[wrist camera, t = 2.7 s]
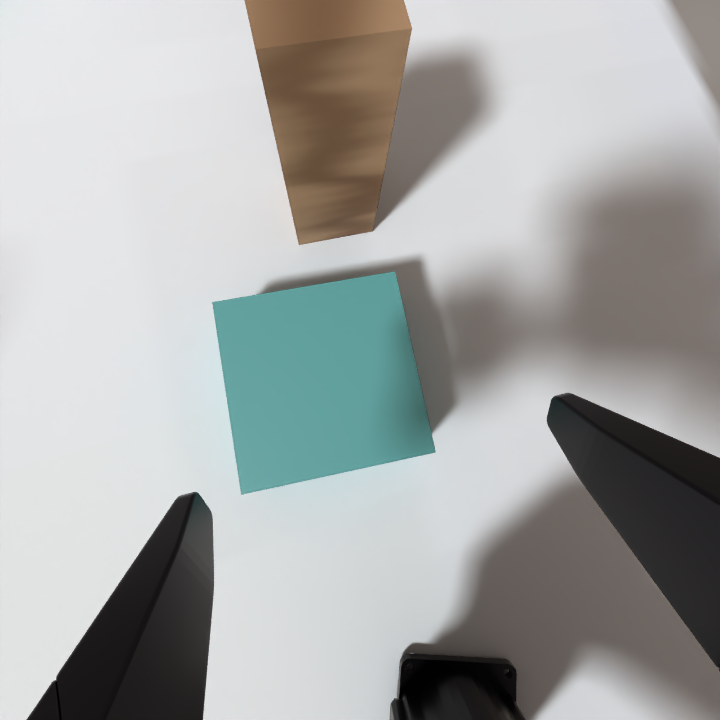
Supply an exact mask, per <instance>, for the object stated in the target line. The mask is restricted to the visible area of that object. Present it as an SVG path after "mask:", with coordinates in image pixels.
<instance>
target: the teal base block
mask: <svg viewBox="0 0 720 720" xmlns="http://www.w3.org/2000/svg"><path fill="white" fill-rule="evenodd" d="M212 303H213V309H214V316H215V323H216V329H217V336H218V343H219V349H220V356H221V363H222V369H223V376H224V383H225V389H226V396H227V403H228V409H229V416H230V423H231V429H232V436H233V443H234V449H235V456H236V463H237V469H238V476H239V483H240V489H241V495H242V494H247V493H251V492H256V491H260V490H265V489H270V488H274V487H279V486H283V485H288V484H292V483H297V482H302V481H306V480H311V479H315V478H320V477H325V476H329V475H334V474H338V473H343V472H348V471H352V470H357V469H361V468H366V467H371V466H375V465H380V464H384V463H389V462H394V461H398V460H403V459H407V458H412V457H417V456H421V455H426V454H430V453H435V452H436V451H435V447H434V442H433V438H432V433H431V429H430V425H429V420H428V416H427V411H426V407H425V402H424V398H423V393H422V389H421V384H420V380H419V375H418V371H417V366H416V362H415V358H414V353H413V349H412V344H411V340H410V335H409V331H408V326H407V322H406V317H405V313H404V308H403V304H402V299H401V295H400V291H399V286H398V282H397V277H396V273H395V271H394V272H388V273H382V274H376V275H370V276H365V277H359V278H353V279H347V280H341V281H335V282H329V283H323V284H317V285H311V286H305V287H299V288H294V289H288V290H282V291H276V292H270V293H264V294H258V295H252V296H246V297H240V298H234V299H228V300H223V301H217V302H212Z"/></svg>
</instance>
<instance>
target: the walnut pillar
mask: <svg viewBox="0 0 720 720" xmlns="http://www.w3.org/2000/svg"><path fill="white" fill-rule="evenodd" d="M245 4H246V9H247V13H248V18H249V22H250V27H251V31H252V36H253V41H254V45H255V50H256V54H257V59H258V63H259V68H260V72H261V77H262V81H263V86H264V90H265V95H266V99H267V104H268V108H269V113H270V117H271V122H272V126H273V131H274V135H275V140H276V144H277V149H278V153H279V157H280V162H281V166H282V171H283V175H284V180H285V184H286V189H287V193H288V198H289V202H290V207H291V211H292V216H293V220H294V225H295V229H296V234H297V238H298V243H299V245H301V244H307V243H312V242H318V241H323V240H328V239H334V238H339V237H344V236H350V235H355V234H361V233H366V232H371V231H373V228H374V222H375V217H376V212H377V207H378V202H379V196H380V191H381V186H382V181H383V176H384V170H385V165H386V160H387V155H388V150H389V145H390V139H391V134H392V129H393V124H394V119H395V113H396V108H397V103H398V98H399V93H400V87H401V82H402V77H403V72H404V67H405V61H406V56H407V51H408V46H409V41H410V35H411V30H412V27H411V24H410V20H409V17H408V13H407V10H406V6H405V3H404V0H245Z"/></svg>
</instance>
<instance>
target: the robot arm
mask: <svg viewBox="0 0 720 720" xmlns="http://www.w3.org/2000/svg"><path fill="white" fill-rule="evenodd" d="M547 423H548V426H549V428H550V430H551V432H552V434H553V435H554V437H555V439H556V440H557V442H558V444H559V445H560V447H561V449H562V451H563V452H564V454H565V456H566V457H567V459H568V461H569V463H570V464H571V466H572V468H573V469H574V471H575V473H576V474H577V476H578V477H579V479H580V480H581V482H582V483H583V485H584V486H585V487H586V489H587V490H588V492H589V493H590V494H591V496H592V497H593V498H594V500H595V501H596V503H597V504H598V505H599V507H600V508H601V509H602V511H603V512H604V513H605V515H606V516H607V518H608V519H609V520H610V522H611V523H612V524H613V526H614V527H615V528H616V530H617V531H618V533H619V534H620V535H621V537H622V538H623V539H624V541H625V542H626V543H627V545H628V546H629V548H630V549H631V550H632V552H633V553H634V554H635V556H636V557H637V558H638V560H639V561H640V563H641V564H642V565H643V567H644V568H645V569H646V571H647V572H648V574H649V575H650V576H651V578H652V579H653V580H654V582H655V583H656V584H657V586H658V587H659V589H660V590H661V591H662V593H663V594H664V595H665V597H666V598H667V599H668V601H669V602H670V604H671V605H672V606H673V608H674V609H675V610H676V612H677V613H678V614H679V616H680V617H681V619H682V620H683V621H684V623H685V624H686V625H687V627H688V628H689V629H690V631H691V632H692V634H693V635H694V636H695V638H696V639H697V640H698V642H699V643H700V644H701V646H702V647H703V649H704V650H705V651H706V653H707V654H708V655H709V657H710V658H711V660H712V661H713V662H714V664H715V665H716V666H717V667H718V668H719V671H720V458H719V457H716V456H714V455H712V454H709V453H707V452H705V451H703V450H700V449H698V448H696V447H693V446H691V445H689V444H686V443H684V442H682V441H680V440H677V439H675V438H673V437H670V436H668V435H666V434H664V433H661V432H659V431H657V430H654V429H652V428H650V427H647V426H645V425H643V424H641V423H638V422H636V421H634V420H631V419H629V418H627V417H624V416H622V415H620V414H618V413H615V412H613V411H611V410H608V409H606V408H604V407H601V406H599V405H597V404H595V403H592V402H590V401H588V400H585V399H583V398H581V397H578V396H576V395H574V394H571V393H564V394H561V395H557V396H554V397H553V398H552V400H551V403H550V407H549V411H548V415H547ZM213 593H214V554H213V518H212V513H211V511H210V509H209V507H208V506H207V505H206V503H205V502H204V500H203V499H202V497H201V496H200V495H199V493H197V492H192V493H188V494H185V495H181V496H179V497H178V498H177V499H176V500H175V501H174V503H173V504H172V506H171V507H170V509H169V510H168V512H167V513H166V515H165V516H164V518H163V519H162V521H161V522H160V524H159V525H158V526H157V528H156V529H155V531H154V532H153V534H152V535H151V537H150V538H149V540H148V541H147V543H146V544H145V546H144V547H143V549H142V550H141V552H140V553H139V555H138V556H137V558H136V559H135V561H134V562H133V564H132V565H131V566H130V568H129V569H128V571H127V572H126V574H125V575H124V577H123V578H122V580H121V581H120V583H119V584H118V586H117V587H116V589H115V590H114V592H113V593H112V595H111V596H110V598H109V599H108V601H107V602H106V603H105V605H104V606H103V608H102V609H101V611H100V612H99V614H98V615H97V617H96V618H95V620H94V621H93V623H92V624H91V626H90V627H89V629H88V630H87V632H86V633H85V635H84V636H83V638H82V639H81V641H80V642H79V643H78V645H77V646H76V648H75V649H74V651H73V652H72V654H71V655H70V657H69V658H68V660H67V661H66V663H65V664H64V666H63V667H62V669H61V670H60V672H59V673H58V675H57V677H56V680H55V681H53V682H52V683H51V685H50V686H49V688H48V689H47V691H46V692H45V694H44V695H43V697H42V698H41V699H40V701H39V702H38V704H37V705H36V707H35V708H34V710H33V711H32V713H31V714H30V715H29V717H28V718H27V720H203V711H204V700H205V688H206V676H207V665H208V653H209V641H210V629H211V618H212V606H213ZM409 663H411V664H413V666H412V667H411V668H409V669H407V668H406V665H407V664H409ZM505 669H509V671H508V673H507V674H503V672H504V670H505ZM516 676H517V674H516V670H515V668H514V666H513V665H512V664H511V662H510V661H508V660H506V659H492V658H475V657H458V656H440V655H423V654H405V655H404V656H402V658H401V660H400V666H399V681H398V697H397V699H396V698H395V699H394V700H393V701H392V703H391V707H390V720H526V719H525V717H524V715H523V714H522V712H521V711H520V709H519V707H518V706H517V704H516Z"/></svg>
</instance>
